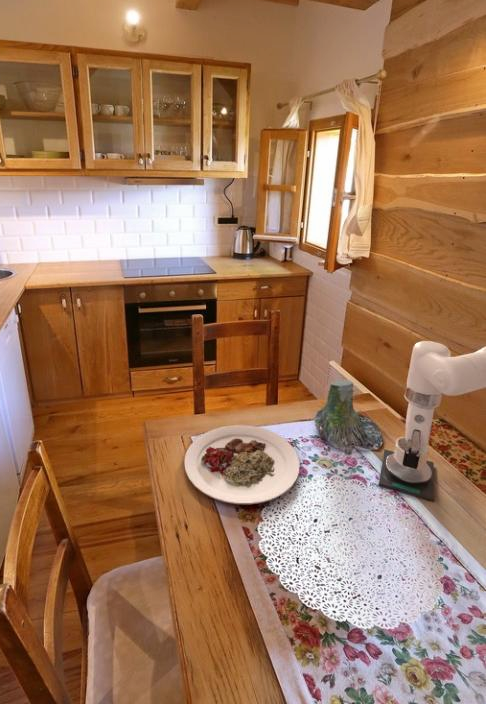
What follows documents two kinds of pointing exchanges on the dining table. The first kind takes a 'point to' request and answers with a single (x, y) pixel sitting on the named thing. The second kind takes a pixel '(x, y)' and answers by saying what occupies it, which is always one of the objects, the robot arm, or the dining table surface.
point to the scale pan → (408, 471)
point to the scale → (412, 489)
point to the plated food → (241, 464)
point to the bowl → (402, 446)
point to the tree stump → (346, 421)
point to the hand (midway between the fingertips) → (410, 456)
